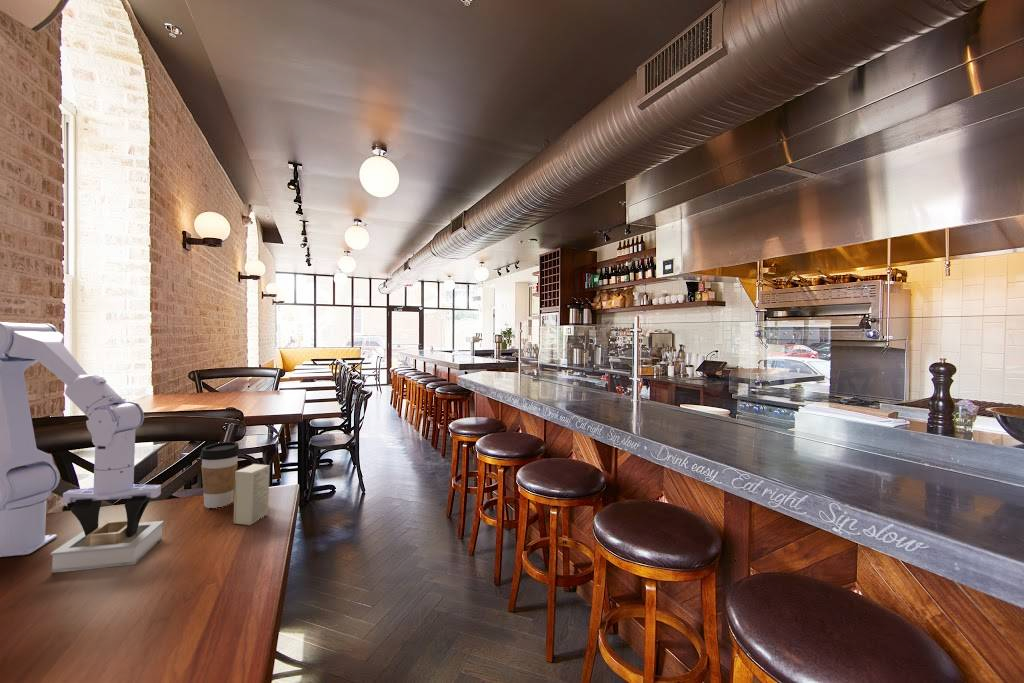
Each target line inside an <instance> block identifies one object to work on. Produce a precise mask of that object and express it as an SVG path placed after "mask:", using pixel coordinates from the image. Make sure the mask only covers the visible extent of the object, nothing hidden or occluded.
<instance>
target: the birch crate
mask: <svg viewBox="0 0 1024 683" xmlns="http://www.w3.org/2000/svg"><path fill="white" fill-rule="evenodd" d="M99 526H100V527H98V528H97V529H95V530H94V531H93V532H91V533H90V534H88V535H87V536H86V546H96V545H108V544H119V543H130V542H131V541H132V540H134V539H135V538H136V534H137V533H136V534H134V535H133V536H132V537H127V519H125V520H113V521H111V520H110V521H105V522H104V523H103V524H101V525H99Z"/></svg>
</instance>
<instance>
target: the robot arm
mask: <svg viewBox="0 0 1024 683" xmlns="http://www.w3.org/2000/svg"><path fill="white" fill-rule="evenodd" d="M64 343H65V336H64V334H62V333H61V332H60V331H59V330H58V328H57V327H56V326H55V325H53V324H51V323H48V322H45V323H44V322H43V323H42V322H41V323H28V322H27V323H26V322H23V323H22V322H2V321H0V558H3V557H12V556H13V557H14V556H25V555H30V554H32V553H33V552H35V551H37V550H38V549H40V548H42V547H43V546H44V545H46V544H48V543H49V542H51V541H53V540H54V539H56V538H57V536H58V534H47V535H46V529H47V528H46V527H47V526H46V525H47V524H46V523H47V516H46V515H47V501H48V500H47V499H48V498H50V497H51V496H52V492H53V491H54V490H55V489H56V488H57V487H58V485H59V484H60V478H61V474H60V471H59V469H58V468H57V466H56V465H55V464H54V460H53V456H52V454H50V453H48V452H45V451H43V450H40V449H38V447H37V442H36V438H35V437H36V436H35V431H34V425H33V420H32V414H31V407H30V402H29V397H28V396H29V395H28V391H27V385H26V379H25V371H26V370H27V369H29V367H31V366H33V365H35V364H37V363H40V364H42V366H44V367H45V368H46V369H47V370H48V371H49V372H51V373H52V374H53V375H54V376H55V377H57V378H58V379H59V380H60V381H61V382H62V383H64V384H65V385H66V388H65V392H64V394H65V395H66V397H67V398H68V399H69V400H70V401H71V402H72V403H74V405H75V406H76V407H77V408H78V409H79V410H80V411H81V412H82V413H83V414H84V416H86V418H88V419H87V420H86V422H85V424H86V425H85V426H86V428H87V430H88V432H89V433H90V434H91V442H92V445H94V464H93V465H94V466H93V467H94V468H93V487H88V488H79V489H69V490H67V491H65V492H63V493H62V505H63V504H64V505H65V504H71V503H74V504H73V505H72V506H71V507H70V512H71V513H72V514H73V515H74V517H75V518H76V519H77V520H78V521H79V524H80V526H81V527H82V530H83V531H84V533H85V536H87V535H88V534H90V533H91V532H93V531H94V530H95V529H97V528H98V526H99V516H100V509H101V504H102V501H105V500H106V501H108V500H123V499H129V500H128V501H127V502H125V503H124V508H125V513H126V520H127V537H132V536H133V535H134V534H136V533H137V528H138V525H139V523H141V518H142V516H143V515H144V514H143V513H144V512H145V510H146V508H147V506H148V504H149V503H150V502H151V500H152V499H154V498H155V499H156V498H158V497H159V496H160V495H161V494H162V484H139V483H138V484H137V483H136V484H135V483H134V482H135V481H134V479H135V478H134V477H135V476H134V475H135V454H136V452H135V451H136V449H135V448H136V430H137V429H139V428H140V427H141V426H142V425H143V423H144V421H145V414H144V410H143V408H142V407H141V406H140V403H138V402H135V401H131V400H127V399H126V398H122V397H121V396H120V395H119V394H118V393H117V392H116V391H115V390H114V389H113V388H112V387H111V386H110V385H109V384H108V383H107V380H106V379H105V377H102V376H99V375H96V374H88V373H87V371H86V370H84V368H83V367H82V365H81V364H80V363H79V362H78V361H77V360H76V358H75V357H74V356H73V355H72V353H71V352H70V351H69V349H67V347H66V346H65V345H64ZM22 466H25V467H22ZM18 467H19V468H18ZM20 467H21V468H20ZM15 468H17V469H15Z"/></svg>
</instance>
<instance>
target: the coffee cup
mask: <svg viewBox="0 0 1024 683" xmlns="http://www.w3.org/2000/svg"><path fill="white" fill-rule="evenodd" d="M240 451H241V450H240V447H239V442H237V441H223V442H222V441H221V442H217V443H214V444H210V445H206V446H204V447H202V448H201V453H200V455H199V456H200V457H199V459H201V468H200V469H201V478H202V480H201V481H202V491H203V505H204V506H205V507H207V508H206V509H209V508H216V509H218V508H217V507H221V506H225V505H227V504H229V503H231V502H232V503H233V500H234V494H235V471H237V470H238V465H239V464H238V463H239V462H238V456H239V455H241V452H240ZM205 507H204V508H205Z"/></svg>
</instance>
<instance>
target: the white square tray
mask: <svg viewBox="0 0 1024 683" xmlns="http://www.w3.org/2000/svg"><path fill="white" fill-rule="evenodd" d="M164 523H165V520H158V521H157V520H156V521H155V520H154V521H142V522H139V525H138V528H137V534H136V538H135V539H134V540H132V541H131V542H130V543H119V544H108V545H96V546H86V536H85V533H84V530H83V531H81V532H80V533H79V534H77V535H76V536H74V537H72V538H71V539H70V540H68V541H66V542H65V543H63V544H62V545H60V546H59V547H58V548H56V549H54V550H53V551H52V552H50V556H52V561H51V562H52V563H51V564H52V565H51V566H52V571H51V573H52V574H53V573H54V574H56V573H64V572H73V571H74V572H75V571H85V570H94V569H95V570H96V569H104V568H105V569H106V568H111V567H113V568H114V567H122V566H134V565H136V564H137V563H138V562H139V561H140V560H141V559H142V558H143V557H145V555H147V553H149V551H150V550H151V549H152V548H154V546H156V545H157V544H158V543H159V542H160V541H161V540H162V537H163V524H164ZM100 526H101V525H98V527H100ZM158 541H159V542H158ZM157 542H158V543H157Z"/></svg>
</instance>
